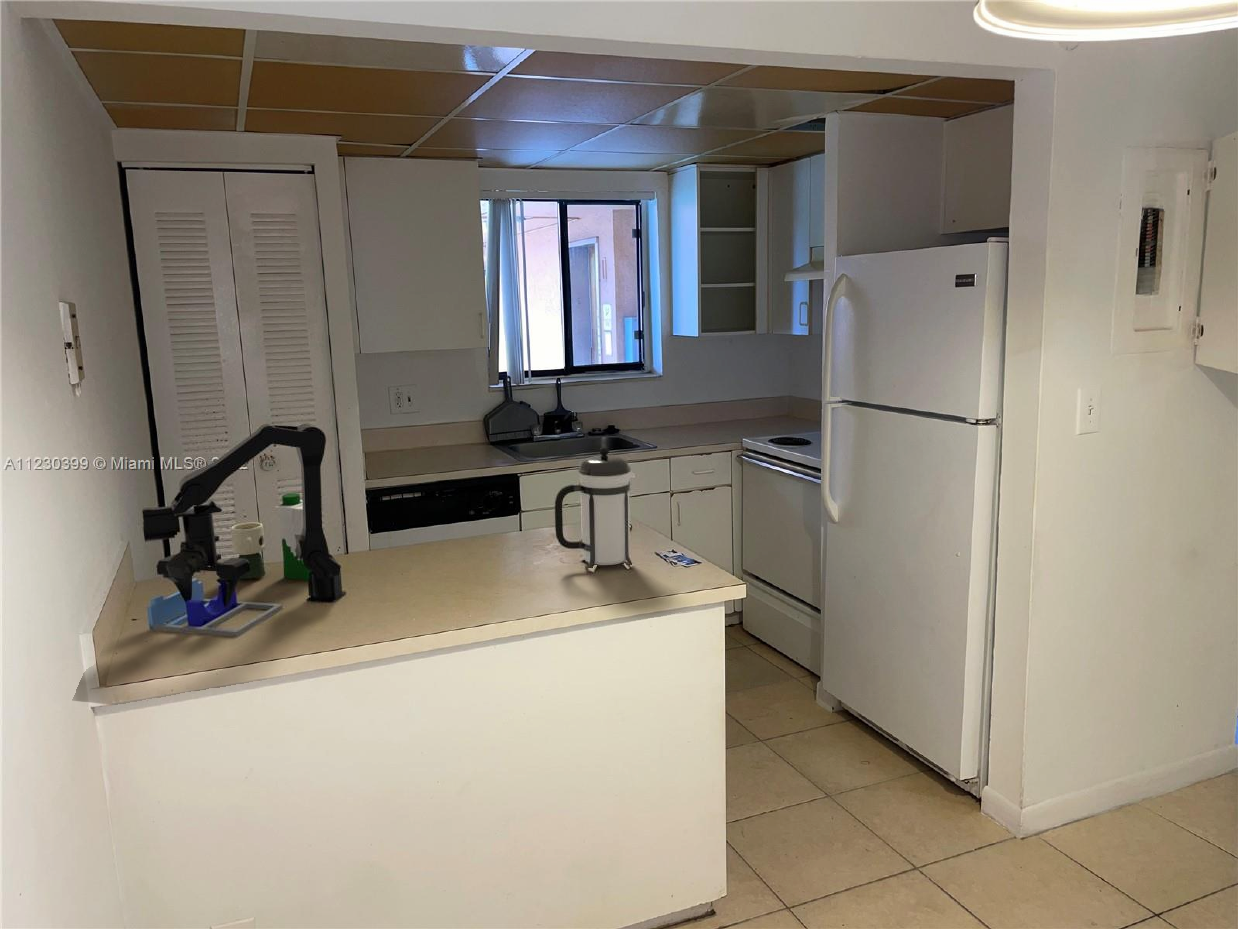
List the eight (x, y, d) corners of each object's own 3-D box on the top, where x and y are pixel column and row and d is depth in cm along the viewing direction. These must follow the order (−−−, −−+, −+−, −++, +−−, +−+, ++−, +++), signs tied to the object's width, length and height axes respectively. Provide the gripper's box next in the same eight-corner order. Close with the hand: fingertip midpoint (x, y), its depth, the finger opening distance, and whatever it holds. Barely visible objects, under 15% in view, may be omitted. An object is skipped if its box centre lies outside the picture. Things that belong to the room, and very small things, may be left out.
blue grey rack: (282, 608, 194) (280, 581, 193) (237, 636, 179) (234, 607, 178) (200, 602, 199) (198, 576, 197) (149, 629, 183) (146, 601, 182)
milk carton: (301, 568, 223) (294, 490, 219) (331, 571, 220) (325, 492, 216) (277, 579, 214) (270, 498, 211) (309, 582, 212) (302, 501, 208)
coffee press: (597, 551, 233) (594, 439, 227) (647, 561, 224) (646, 445, 218) (554, 569, 219) (551, 449, 213) (606, 580, 210) (604, 456, 204)
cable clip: (219, 608, 196) (216, 582, 194) (237, 610, 195) (235, 584, 193) (182, 629, 184) (179, 601, 183) (201, 630, 183) (198, 603, 182)
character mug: (269, 581, 213) (264, 529, 210) (237, 586, 210) (231, 533, 207) (265, 569, 222) (260, 519, 220) (234, 573, 219) (229, 522, 217)
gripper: (132, 543, 180) (142, 615, 183) (213, 547, 176) (221, 621, 179) (171, 528, 191) (179, 597, 194) (248, 532, 187) (255, 602, 190)
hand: (207, 604), depth 189 cm, fingers open, 9 cm apart
